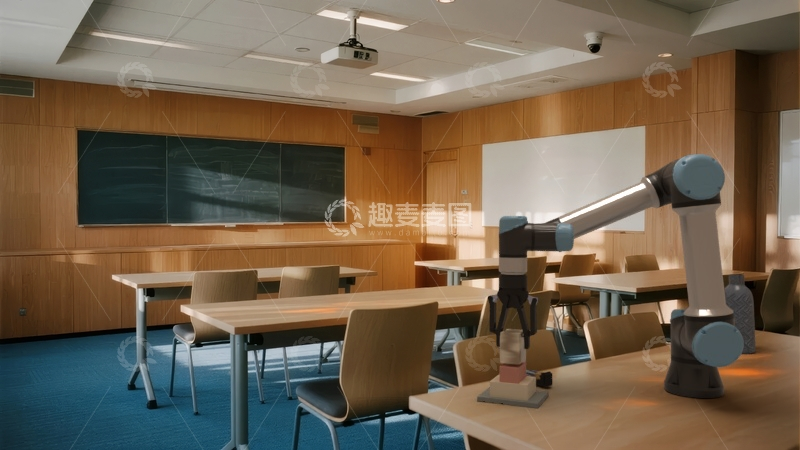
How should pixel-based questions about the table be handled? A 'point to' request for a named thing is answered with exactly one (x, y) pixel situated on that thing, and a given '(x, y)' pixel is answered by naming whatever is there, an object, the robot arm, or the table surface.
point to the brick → (510, 346)
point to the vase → (742, 310)
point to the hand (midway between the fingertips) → (512, 359)
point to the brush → (541, 377)
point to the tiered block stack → (513, 388)
